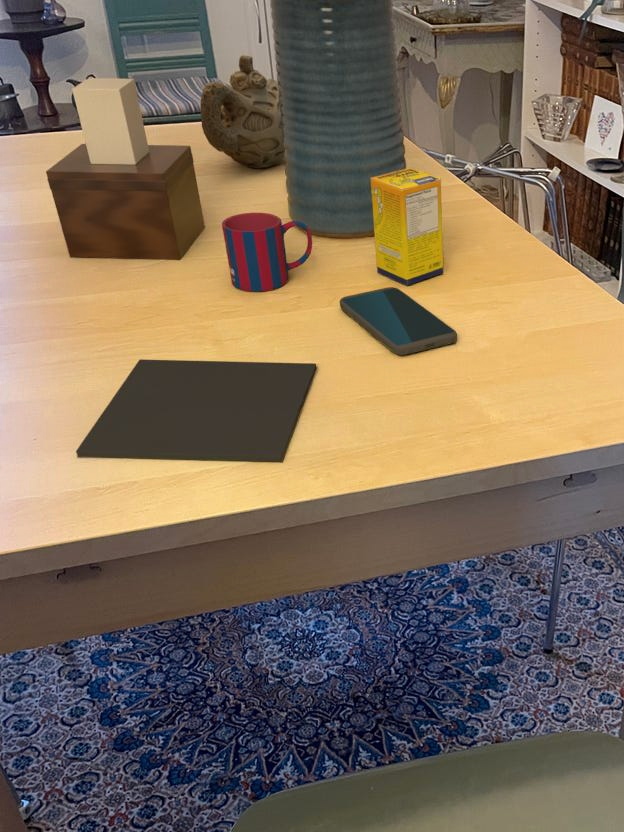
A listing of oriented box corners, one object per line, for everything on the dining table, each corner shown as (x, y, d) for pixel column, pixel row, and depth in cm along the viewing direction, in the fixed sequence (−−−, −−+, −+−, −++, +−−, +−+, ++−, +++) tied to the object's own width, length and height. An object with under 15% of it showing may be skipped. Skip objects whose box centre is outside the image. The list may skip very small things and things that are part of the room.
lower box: (90, 164, 113) (71, 88, 107) (105, 151, 117) (88, 77, 111) (135, 164, 113) (119, 89, 107) (149, 152, 117) (134, 78, 111)
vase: (284, 205, 133) (248, -74, 111) (397, 197, 136) (384, -77, 115) (296, 245, 121) (259, -59, 100) (420, 235, 124) (410, -62, 103)
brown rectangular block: (69, 257, 117) (44, 171, 110) (102, 224, 126) (81, 143, 119) (180, 259, 117) (163, 173, 110) (205, 227, 126) (190, 145, 119)
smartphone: (396, 293, 109) (396, 285, 108) (461, 341, 99) (461, 333, 99) (336, 306, 106) (335, 298, 105) (397, 357, 96) (397, 349, 96)
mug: (230, 273, 114) (220, 214, 109) (313, 266, 115) (307, 208, 111) (232, 294, 109) (222, 233, 104) (319, 287, 110) (312, 227, 106)
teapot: (261, 145, 155) (246, 39, 145) (322, 152, 152) (312, 44, 142) (186, 181, 141) (164, 66, 131) (253, 190, 138) (235, 73, 127)
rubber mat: (77, 457, 82) (75, 451, 81) (140, 364, 95) (139, 359, 95) (282, 462, 81) (281, 456, 81) (316, 368, 95) (316, 363, 94)
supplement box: (412, 260, 117) (408, 166, 110) (444, 274, 114) (442, 177, 106) (375, 273, 114) (368, 176, 107) (406, 287, 111) (402, 188, 103)
